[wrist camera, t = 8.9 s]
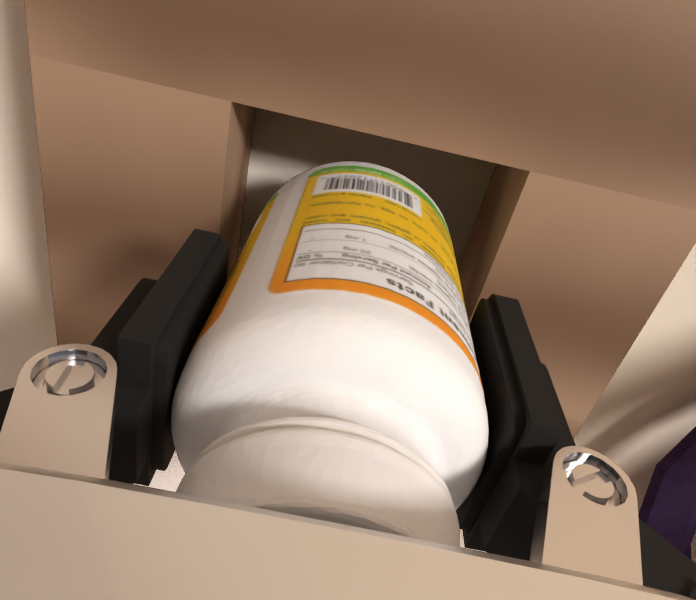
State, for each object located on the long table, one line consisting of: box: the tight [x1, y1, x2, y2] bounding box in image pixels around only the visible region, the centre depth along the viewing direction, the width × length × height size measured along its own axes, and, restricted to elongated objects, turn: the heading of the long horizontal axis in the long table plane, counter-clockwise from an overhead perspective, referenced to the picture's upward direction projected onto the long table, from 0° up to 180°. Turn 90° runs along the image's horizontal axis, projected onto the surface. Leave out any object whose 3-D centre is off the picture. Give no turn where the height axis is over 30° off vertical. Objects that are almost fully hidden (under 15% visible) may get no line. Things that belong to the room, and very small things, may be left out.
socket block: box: [24, 0, 696, 439], centre depth 16 cm, size 16×16×3 cm
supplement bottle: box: [171, 161, 489, 547], centre depth 11 cm, size 5×5×10 cm
